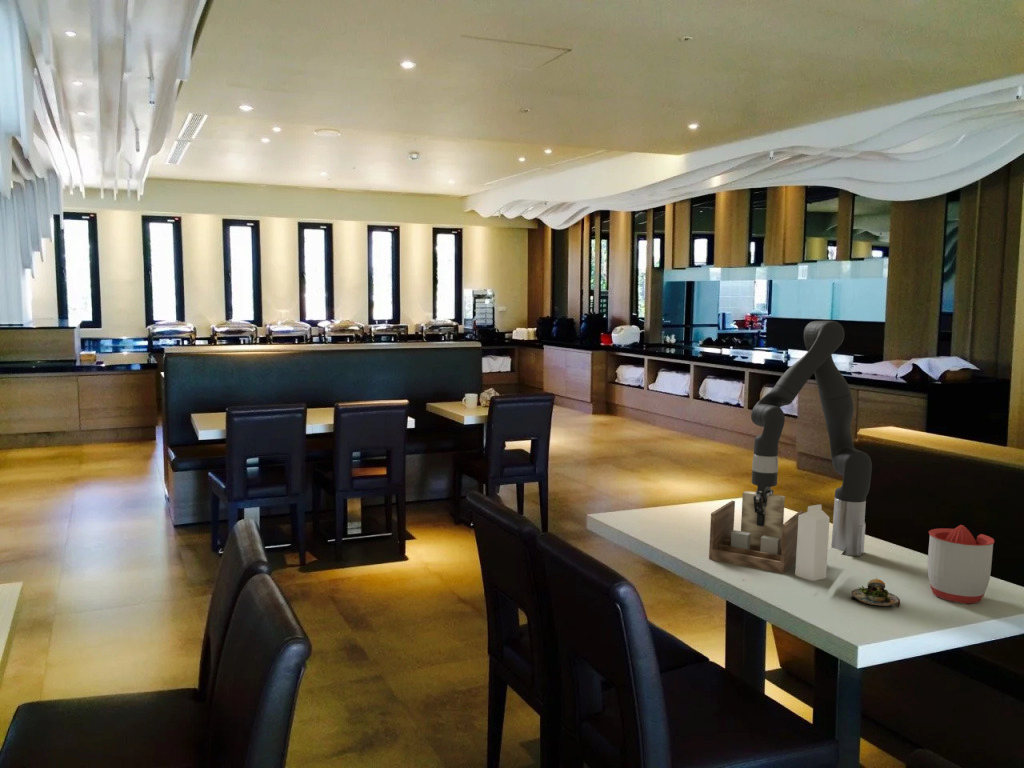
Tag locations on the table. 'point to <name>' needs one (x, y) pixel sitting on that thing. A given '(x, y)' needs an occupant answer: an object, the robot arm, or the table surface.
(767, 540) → the offcut
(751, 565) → the rack
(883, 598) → the burger
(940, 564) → the citrus juicer
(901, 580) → the table surface
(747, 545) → the offcut
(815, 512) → the milk
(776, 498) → the beige patterned book
